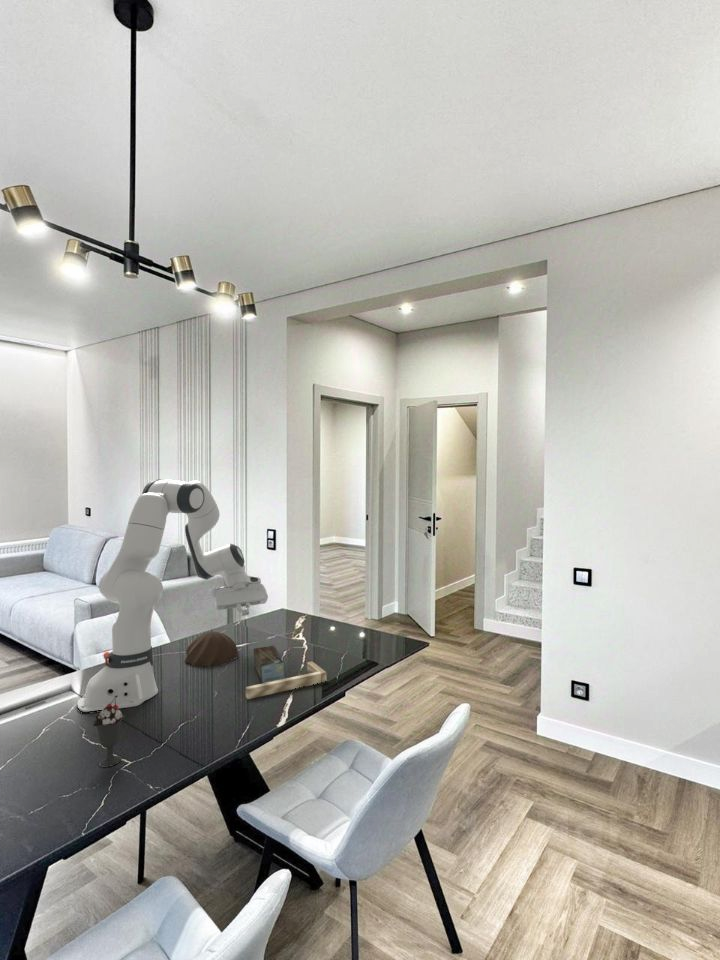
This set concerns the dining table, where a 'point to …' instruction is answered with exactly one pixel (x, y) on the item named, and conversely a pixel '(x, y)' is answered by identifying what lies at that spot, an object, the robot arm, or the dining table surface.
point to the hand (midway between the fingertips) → (245, 614)
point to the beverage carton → (268, 664)
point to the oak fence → (288, 682)
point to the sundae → (109, 731)
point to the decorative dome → (211, 650)
